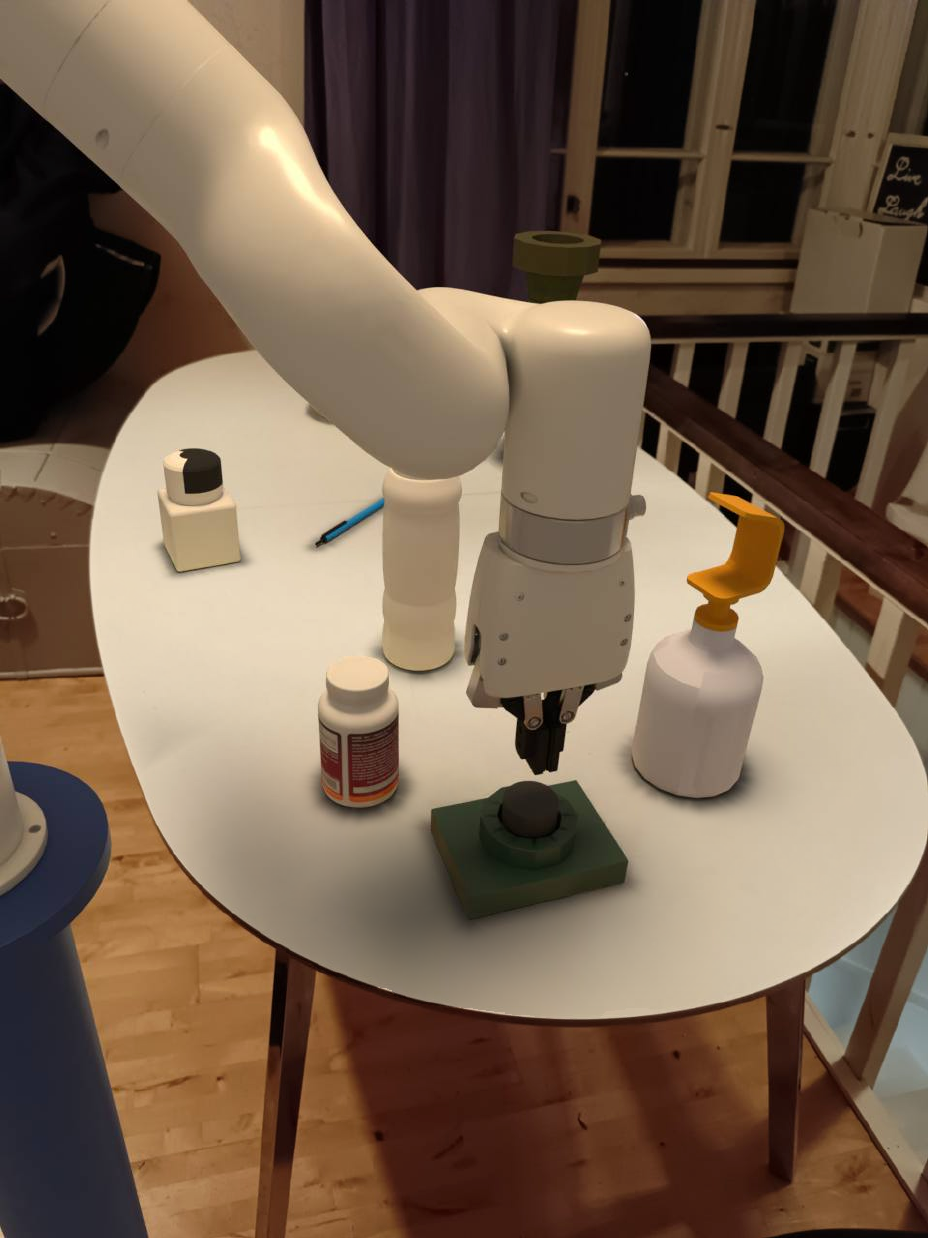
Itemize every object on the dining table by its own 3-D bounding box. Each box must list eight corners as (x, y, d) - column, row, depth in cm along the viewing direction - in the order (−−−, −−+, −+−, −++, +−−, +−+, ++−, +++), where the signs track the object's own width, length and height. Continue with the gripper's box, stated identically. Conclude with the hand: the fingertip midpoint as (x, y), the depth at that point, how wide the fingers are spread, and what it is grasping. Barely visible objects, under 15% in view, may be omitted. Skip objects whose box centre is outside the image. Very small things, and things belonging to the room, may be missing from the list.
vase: (575, 490, 129) (602, 256, 113) (465, 468, 134) (476, 241, 118) (606, 450, 142) (634, 235, 126) (504, 431, 147) (519, 222, 131)
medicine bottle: (225, 535, 113) (216, 439, 107) (241, 562, 108) (233, 462, 101) (163, 545, 110) (150, 447, 104) (177, 573, 105) (164, 471, 98)
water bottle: (436, 628, 97) (444, 389, 84) (466, 664, 92) (480, 415, 79) (371, 642, 95) (369, 397, 82) (398, 680, 89) (400, 424, 76)
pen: (313, 546, 112) (313, 537, 111) (400, 491, 126) (400, 483, 126) (319, 548, 111) (319, 539, 111) (406, 493, 126) (406, 485, 125)
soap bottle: (609, 749, 82) (652, 485, 69) (689, 720, 86) (743, 465, 73) (679, 814, 76) (740, 536, 63) (761, 779, 80) (835, 511, 67)
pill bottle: (407, 766, 79) (409, 656, 73) (386, 817, 74) (387, 702, 68) (335, 754, 80) (332, 643, 74) (310, 803, 75) (304, 688, 69)
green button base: (468, 919, 66) (471, 878, 64) (430, 830, 73) (431, 790, 71) (624, 882, 69) (632, 842, 67) (573, 800, 76) (579, 762, 74)
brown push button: (513, 845, 67) (515, 823, 66) (493, 807, 70) (495, 786, 69) (565, 833, 68) (568, 812, 67) (543, 796, 71) (546, 776, 70)
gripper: (644, 484, 62) (610, 711, 71) (423, 508, 57) (419, 746, 67) (705, 535, 56) (659, 775, 65) (463, 566, 51) (452, 818, 61)
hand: (537, 760), depth 66 cm, fingers closed
